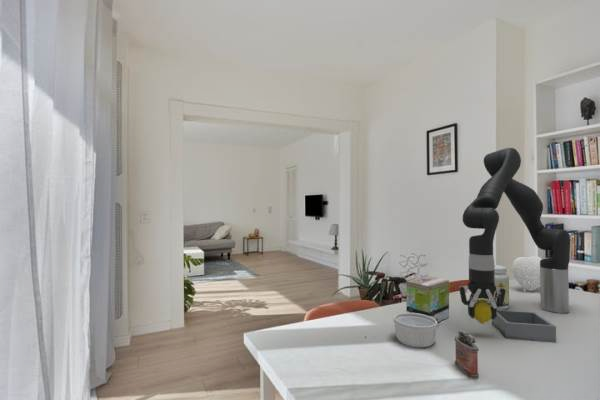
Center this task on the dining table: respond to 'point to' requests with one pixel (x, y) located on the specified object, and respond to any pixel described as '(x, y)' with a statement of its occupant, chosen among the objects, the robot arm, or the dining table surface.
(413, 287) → the tea box
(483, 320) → the lemon
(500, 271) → the supplement tub
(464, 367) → the lighter
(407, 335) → the ramekin
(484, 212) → the robot arm
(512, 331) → the bin
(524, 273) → the white textured ornament
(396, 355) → the dining table surface
